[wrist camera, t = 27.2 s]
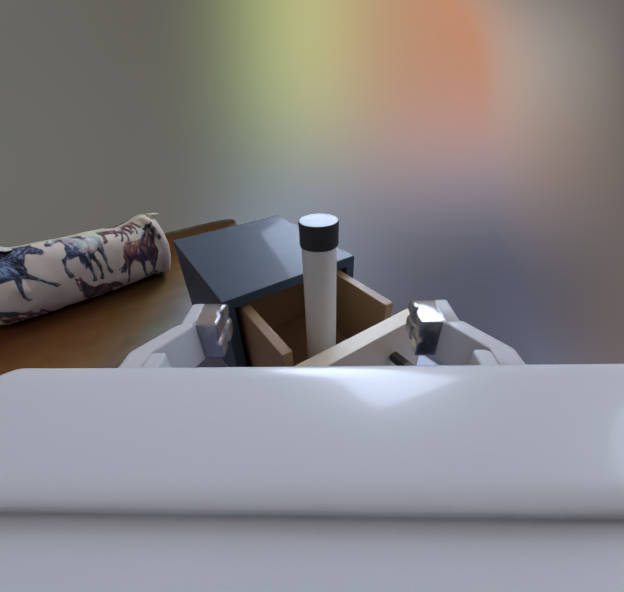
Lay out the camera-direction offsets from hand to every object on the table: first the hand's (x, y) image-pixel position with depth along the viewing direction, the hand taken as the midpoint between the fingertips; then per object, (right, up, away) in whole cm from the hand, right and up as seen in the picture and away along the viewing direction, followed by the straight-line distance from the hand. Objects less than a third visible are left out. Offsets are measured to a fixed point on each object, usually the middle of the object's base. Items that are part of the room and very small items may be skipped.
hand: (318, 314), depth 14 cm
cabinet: (-5, -2, +22) cm, 23 cm away
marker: (+1, -6, +13) cm, 14 cm away
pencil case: (-31, +1, +30) cm, 43 cm away
